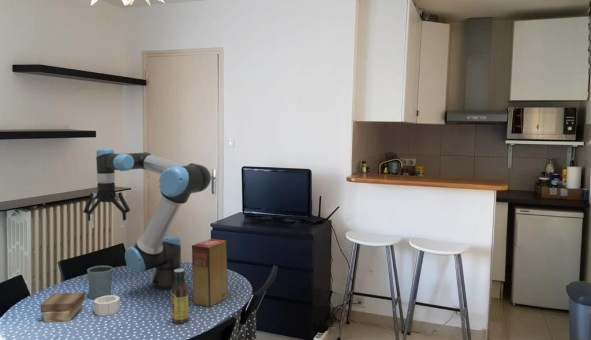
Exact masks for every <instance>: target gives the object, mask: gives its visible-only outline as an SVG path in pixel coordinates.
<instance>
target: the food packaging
mask: <svg viewBox="0 0 591 340" xmlns="http://www.w3.org/2000/svg"><path fill="white" fill-rule="evenodd" d="M227 244H228V243H227V240H223V239H217V238H216V239H215V238H210V239H206V240H204V241H201V242H199V243H198V242H197V243H196V244H192V245H191V259H192V260H191V261H192V290H193V291H192V301H193V302H192V304H193V305H196V306H202V307H207V308H212V307H213V306H215V305H216V304H218V303H220V302H222V301H224V300H226V299H228V298H229V296H228V292H229V291H228V253H227V252H228V248H227Z"/></svg>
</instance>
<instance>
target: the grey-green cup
mask: <svg viewBox="0 0 591 340" xmlns="http://www.w3.org/2000/svg"><path fill="white" fill-rule="evenodd" d="M113 269H114V268H113V266H110V265H95V266H92V267H89V268H88V269H86V271H87V279H88V280H87V281H88V291H89V299H93V300H95V299H96V298H99V297H102V296H107V295H112V280H113V271H114V270H113Z"/></svg>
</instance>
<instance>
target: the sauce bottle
mask: <svg viewBox="0 0 591 340" xmlns="http://www.w3.org/2000/svg"><path fill="white" fill-rule="evenodd" d="M185 270H186V269H184V268H181V269H176V270H174V284H173V287H172V289H171V290H170V297H171V298H170V300H171V303H170V304H171V320H172V322H173V323H174V324H183V323H186V322H187V321H188V320H189V313H190V311H189V288H188V287H189V286H188V284H187V283H186V278H185V279H184V277H185V274H186V271H185Z"/></svg>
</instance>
